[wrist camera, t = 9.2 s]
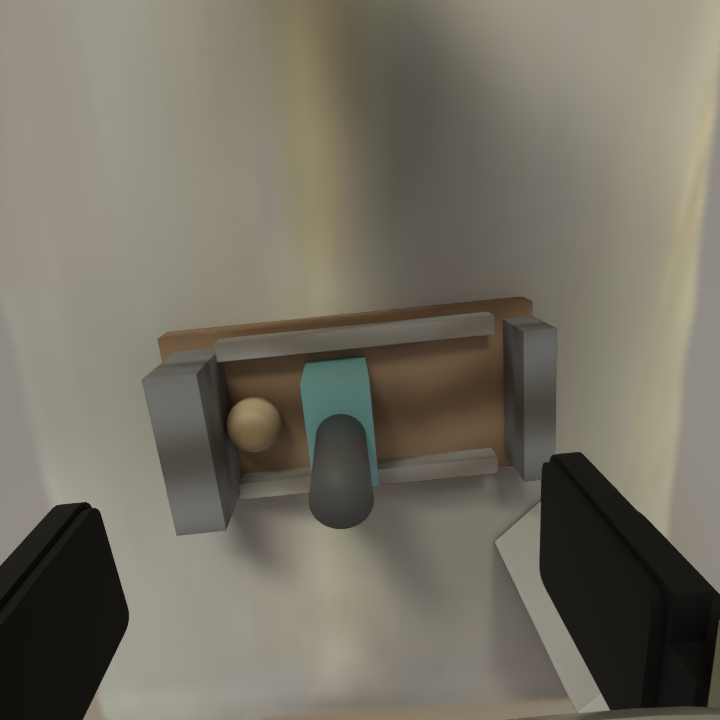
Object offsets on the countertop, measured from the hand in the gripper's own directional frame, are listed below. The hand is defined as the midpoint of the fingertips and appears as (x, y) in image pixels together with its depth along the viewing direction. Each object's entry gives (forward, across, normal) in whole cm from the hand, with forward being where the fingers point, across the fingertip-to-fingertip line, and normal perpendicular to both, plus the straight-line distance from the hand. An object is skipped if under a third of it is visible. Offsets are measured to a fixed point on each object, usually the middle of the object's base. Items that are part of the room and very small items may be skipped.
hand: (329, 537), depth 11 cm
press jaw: (+23, 0, +7) cm, 24 cm away
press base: (+26, -1, +7) cm, 27 cm away
